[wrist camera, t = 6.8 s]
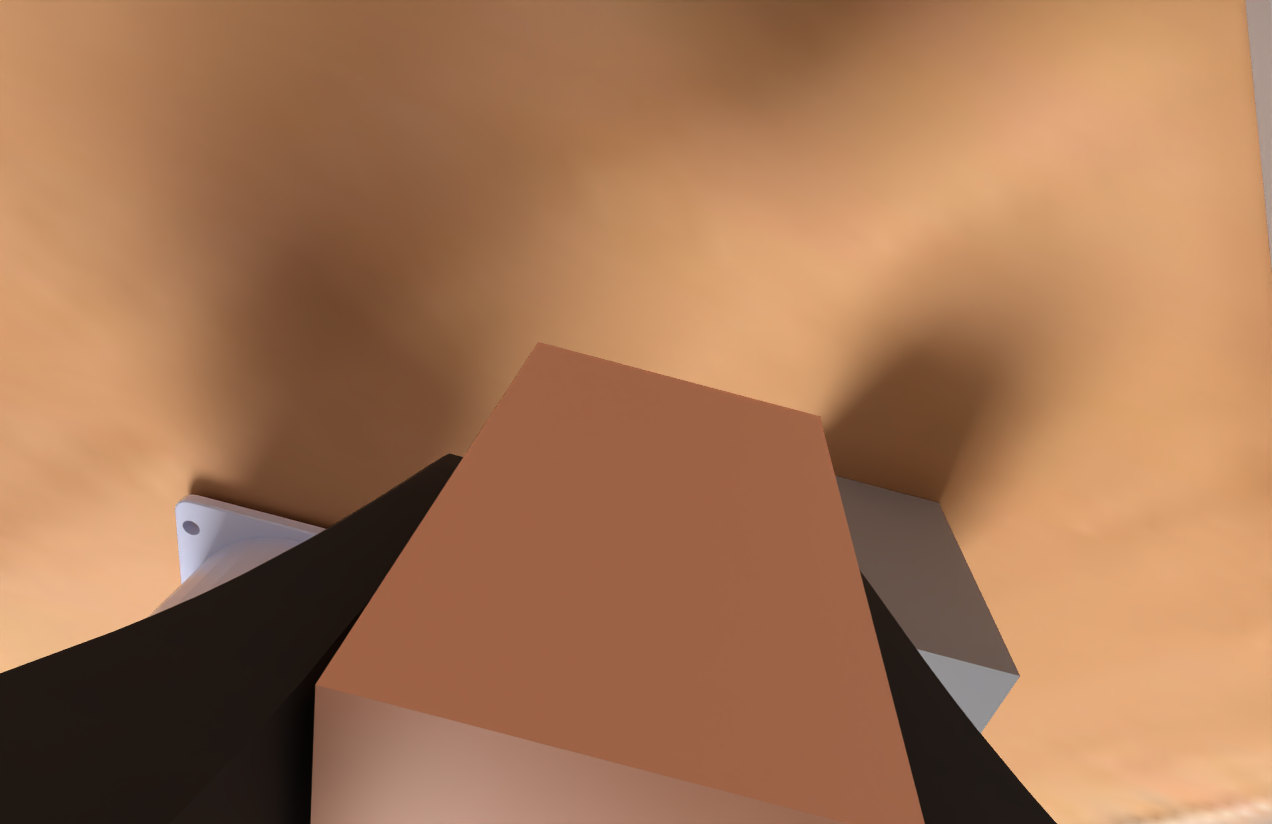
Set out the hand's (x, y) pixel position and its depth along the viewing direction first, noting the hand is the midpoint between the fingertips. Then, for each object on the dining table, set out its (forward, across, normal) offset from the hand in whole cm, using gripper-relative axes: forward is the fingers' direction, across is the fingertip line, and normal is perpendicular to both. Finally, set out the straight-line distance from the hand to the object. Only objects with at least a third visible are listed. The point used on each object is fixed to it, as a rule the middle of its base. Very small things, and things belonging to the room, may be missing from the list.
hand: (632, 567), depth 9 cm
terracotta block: (+2, 0, 0) cm, 2 cm away
